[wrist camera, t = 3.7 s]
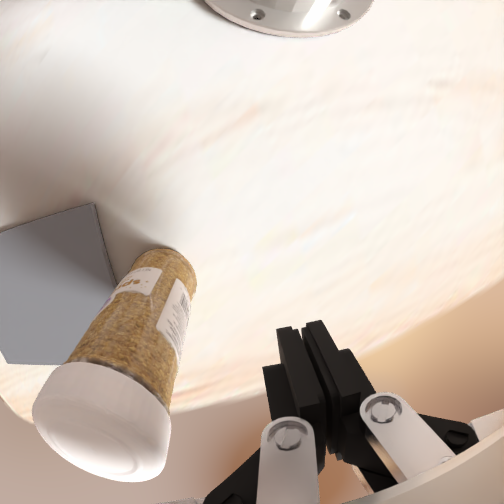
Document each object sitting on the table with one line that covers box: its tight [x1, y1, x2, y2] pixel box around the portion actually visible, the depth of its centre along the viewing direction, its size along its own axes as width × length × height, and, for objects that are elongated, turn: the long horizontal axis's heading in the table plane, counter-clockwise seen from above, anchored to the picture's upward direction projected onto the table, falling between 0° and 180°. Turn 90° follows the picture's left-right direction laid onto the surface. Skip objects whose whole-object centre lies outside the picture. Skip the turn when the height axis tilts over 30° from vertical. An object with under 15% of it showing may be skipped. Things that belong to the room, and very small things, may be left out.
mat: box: [0, 203, 117, 365], centre depth 19 cm, size 16×12×1 cm
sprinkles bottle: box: [32, 249, 197, 482], centre depth 13 cm, size 5×5×13 cm
